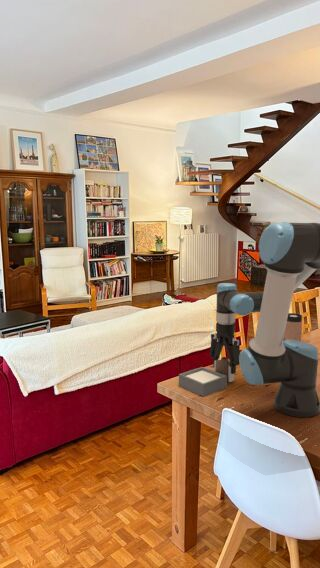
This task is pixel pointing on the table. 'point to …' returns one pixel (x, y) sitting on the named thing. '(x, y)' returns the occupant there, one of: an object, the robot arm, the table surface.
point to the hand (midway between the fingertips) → (224, 378)
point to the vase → (223, 366)
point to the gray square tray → (202, 381)
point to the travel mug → (293, 327)
